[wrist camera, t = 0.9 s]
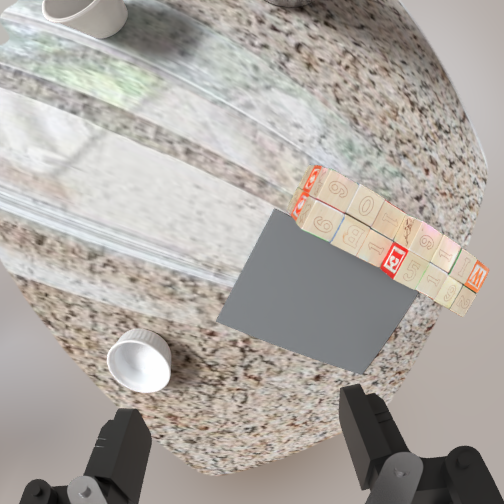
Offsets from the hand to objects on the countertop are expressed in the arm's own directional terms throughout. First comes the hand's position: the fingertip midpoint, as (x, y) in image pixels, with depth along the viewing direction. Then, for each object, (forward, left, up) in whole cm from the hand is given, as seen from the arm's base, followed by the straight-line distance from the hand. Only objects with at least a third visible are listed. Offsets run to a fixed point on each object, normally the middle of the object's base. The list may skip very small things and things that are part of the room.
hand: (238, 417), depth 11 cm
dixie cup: (-19, -28, -27) cm, 43 cm away
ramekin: (+20, -5, -28) cm, 35 cm away
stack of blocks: (-9, +14, -28) cm, 32 cm away
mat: (+3, +14, -27) cm, 31 cm away
